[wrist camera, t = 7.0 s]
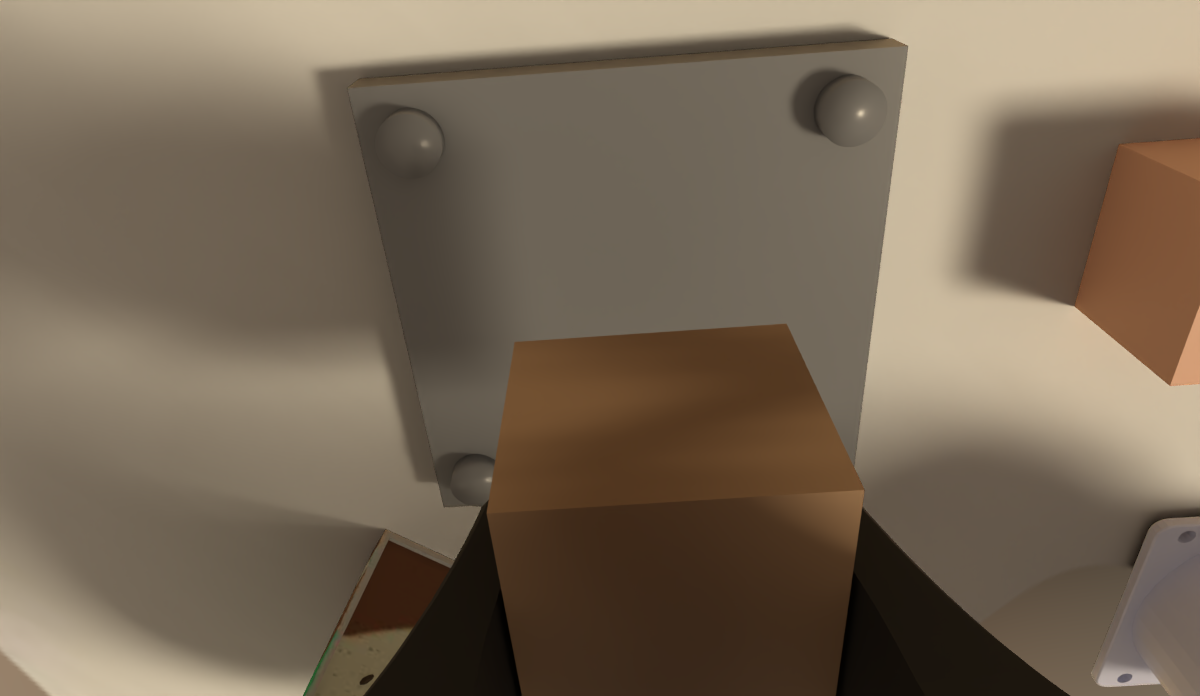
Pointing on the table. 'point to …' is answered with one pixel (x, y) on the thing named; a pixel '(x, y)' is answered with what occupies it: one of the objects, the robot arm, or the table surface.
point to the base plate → (629, 215)
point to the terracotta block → (1150, 258)
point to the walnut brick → (672, 517)
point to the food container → (378, 615)
